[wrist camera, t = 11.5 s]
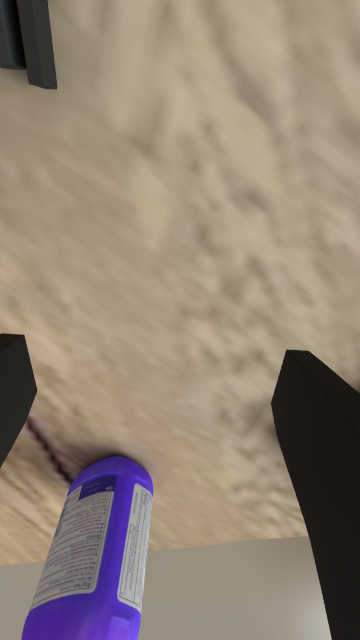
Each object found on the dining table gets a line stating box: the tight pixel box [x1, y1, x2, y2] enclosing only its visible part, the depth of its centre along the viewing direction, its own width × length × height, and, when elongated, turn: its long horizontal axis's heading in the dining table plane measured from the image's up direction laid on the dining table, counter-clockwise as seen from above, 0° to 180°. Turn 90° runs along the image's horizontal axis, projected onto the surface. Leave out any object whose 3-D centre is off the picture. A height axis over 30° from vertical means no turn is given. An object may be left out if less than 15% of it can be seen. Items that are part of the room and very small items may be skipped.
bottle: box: [21, 456, 153, 640], centre depth 20 cm, size 7×6×17 cm
